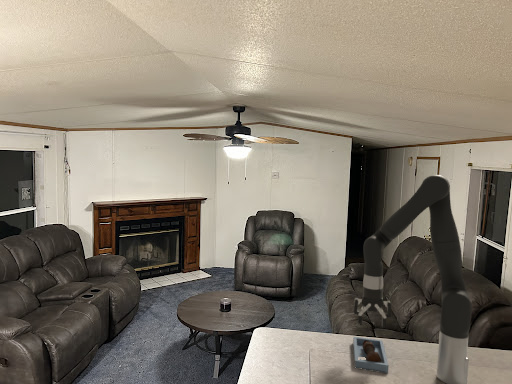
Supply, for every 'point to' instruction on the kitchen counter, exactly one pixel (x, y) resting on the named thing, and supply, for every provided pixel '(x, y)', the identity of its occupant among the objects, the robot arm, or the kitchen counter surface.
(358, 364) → the parts tray
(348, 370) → the kitchen counter surface
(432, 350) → the kitchen counter surface
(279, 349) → the kitchen counter surface
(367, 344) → the bolt
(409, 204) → the robot arm
